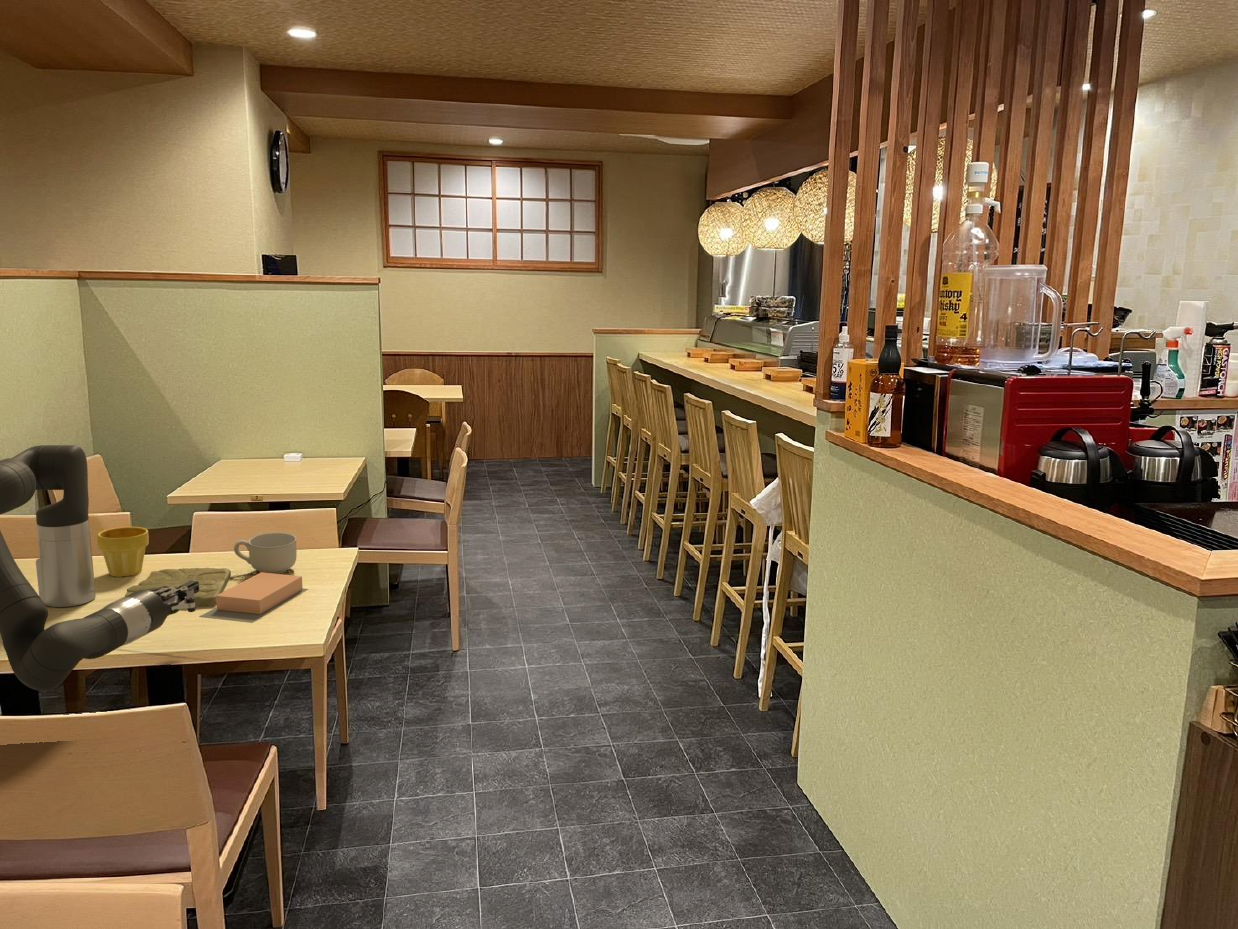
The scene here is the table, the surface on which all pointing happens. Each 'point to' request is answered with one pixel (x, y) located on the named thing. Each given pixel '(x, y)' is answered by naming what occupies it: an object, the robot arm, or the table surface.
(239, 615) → the rubber mat
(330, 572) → the table surface
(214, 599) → the decorative tile
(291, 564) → the teacup
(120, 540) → the plant pot
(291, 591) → the terracotta tile
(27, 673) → the robot arm
